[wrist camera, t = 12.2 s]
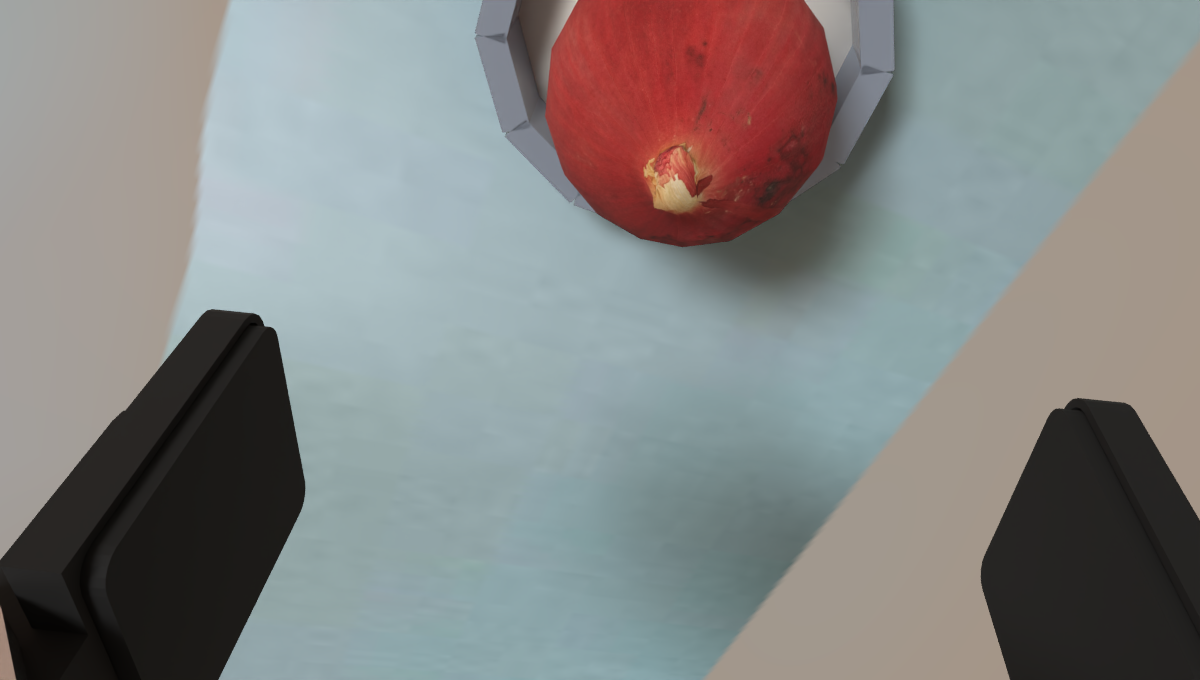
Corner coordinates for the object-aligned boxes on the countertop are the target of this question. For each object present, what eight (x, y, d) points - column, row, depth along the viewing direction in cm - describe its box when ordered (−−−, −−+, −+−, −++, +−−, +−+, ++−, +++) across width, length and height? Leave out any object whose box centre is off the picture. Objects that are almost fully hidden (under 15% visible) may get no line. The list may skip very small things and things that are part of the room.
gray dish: (659, 246, 26) (655, 290, 24) (423, -2, 22) (398, 28, 20) (952, 44, 22) (973, 79, 20) (720, -303, 18) (721, -297, 16)
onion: (870, -6, 20) (941, 152, 14) (727, 188, 24) (731, 386, 17) (649, -151, 19) (617, -48, 13) (529, 76, 22) (457, 246, 16)
